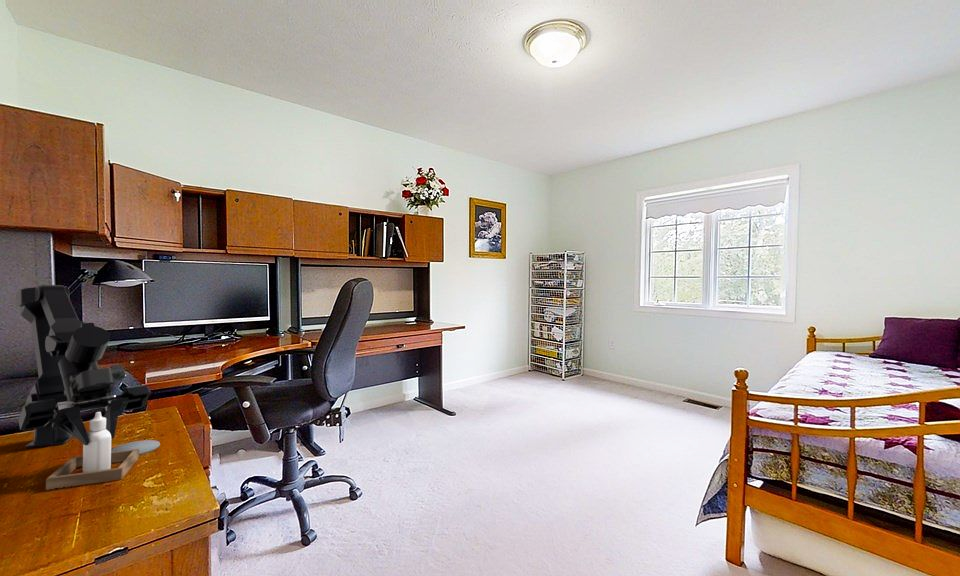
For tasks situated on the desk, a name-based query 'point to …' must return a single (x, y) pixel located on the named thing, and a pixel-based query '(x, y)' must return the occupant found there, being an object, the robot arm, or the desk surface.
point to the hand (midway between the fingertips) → (100, 441)
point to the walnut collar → (67, 480)
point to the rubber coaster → (138, 446)
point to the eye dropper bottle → (97, 446)
